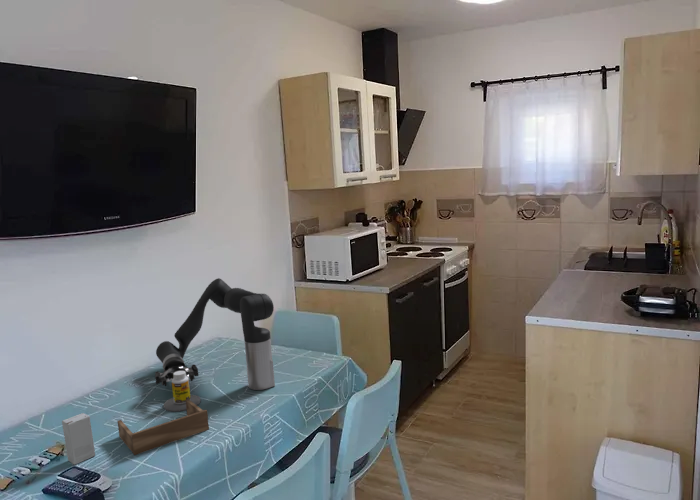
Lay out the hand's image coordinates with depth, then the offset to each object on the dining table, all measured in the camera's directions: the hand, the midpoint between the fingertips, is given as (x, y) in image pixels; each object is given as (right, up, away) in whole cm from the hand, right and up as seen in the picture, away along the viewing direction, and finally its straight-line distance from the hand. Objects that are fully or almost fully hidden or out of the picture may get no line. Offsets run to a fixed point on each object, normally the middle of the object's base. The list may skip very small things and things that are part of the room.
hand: (178, 380), depth 188 cm
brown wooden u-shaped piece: (+2, -11, -21) cm, 23 cm away
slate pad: (+1, -8, 0) cm, 8 cm away
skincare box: (-17, -14, -34) cm, 40 cm away
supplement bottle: (+1, -7, 0) cm, 7 cm away
